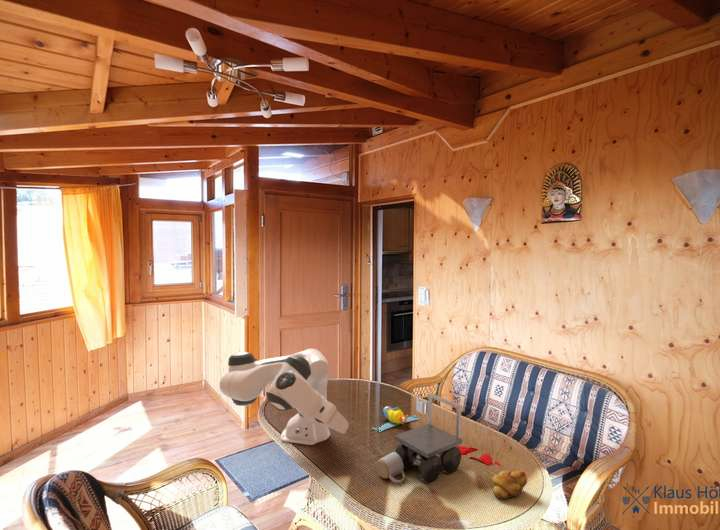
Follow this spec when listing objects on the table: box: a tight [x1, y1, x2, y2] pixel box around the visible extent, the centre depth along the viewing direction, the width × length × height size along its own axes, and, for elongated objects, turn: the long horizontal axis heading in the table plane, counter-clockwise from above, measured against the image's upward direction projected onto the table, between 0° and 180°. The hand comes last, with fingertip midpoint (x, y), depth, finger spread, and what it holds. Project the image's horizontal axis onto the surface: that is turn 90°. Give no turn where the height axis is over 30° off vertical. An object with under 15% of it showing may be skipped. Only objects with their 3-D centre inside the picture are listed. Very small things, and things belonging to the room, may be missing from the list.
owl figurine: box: [371, 405, 421, 433], centre depth 205 cm, size 28×9×15 cm
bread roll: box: [491, 470, 528, 500], centre depth 146 cm, size 13×10×8 cm
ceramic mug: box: [376, 451, 406, 484], centre depth 156 cm, size 11×8×8 cm
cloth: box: [455, 445, 502, 467], centre depth 173 cm, size 26×14×2 cm, turn 35°
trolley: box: [394, 393, 463, 484], centre depth 161 cm, size 21×18×26 cm
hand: (337, 429), depth 144 cm, fingers closed
